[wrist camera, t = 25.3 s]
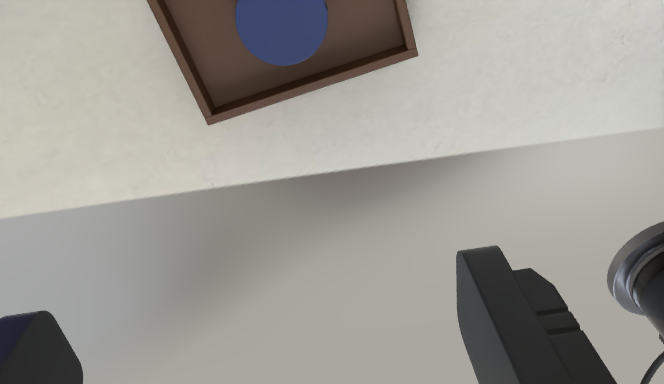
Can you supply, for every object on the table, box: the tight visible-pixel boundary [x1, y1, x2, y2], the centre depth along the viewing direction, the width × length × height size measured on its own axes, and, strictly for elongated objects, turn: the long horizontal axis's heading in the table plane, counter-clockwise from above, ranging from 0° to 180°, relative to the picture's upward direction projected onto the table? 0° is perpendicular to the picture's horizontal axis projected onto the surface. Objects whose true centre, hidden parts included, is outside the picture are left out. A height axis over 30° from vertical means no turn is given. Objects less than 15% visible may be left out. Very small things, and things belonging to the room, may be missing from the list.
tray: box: [147, 0, 418, 125], centre depth 33 cm, size 10×15×2 cm
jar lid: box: [235, 0, 328, 66], centre depth 33 cm, size 6×6×2 cm
